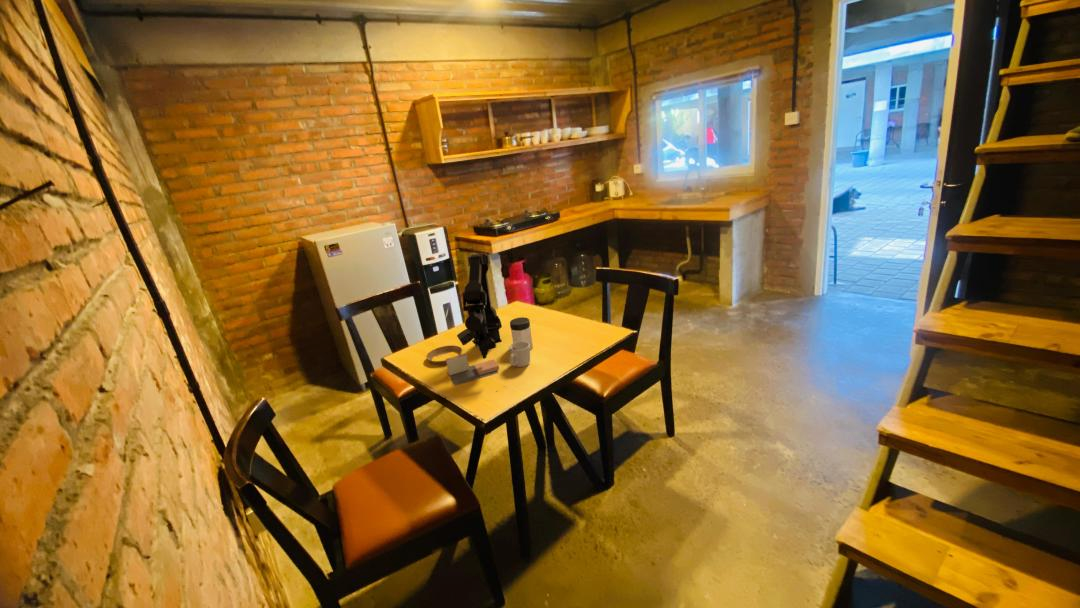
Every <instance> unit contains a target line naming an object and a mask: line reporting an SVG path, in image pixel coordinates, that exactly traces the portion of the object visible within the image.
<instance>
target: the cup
mask: <svg viewBox="0 0 1080 608" xmlns="http://www.w3.org/2000/svg"><path fill="white" fill-rule="evenodd" d="M508 349H509V353H510V355H509V363H510V364H511V366H515V367H517V368H524V367H527V366H529V364H530V363H531V349H530V344H529V343H528V342H523V341H521V342H515V343H513V342H512V343H510V345H509V346H508Z"/></svg>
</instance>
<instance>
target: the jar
mask: <svg viewBox="0 0 1080 608" xmlns="http://www.w3.org/2000/svg"><path fill="white" fill-rule="evenodd" d="M530 323H531V321H530V319H529V318H528V317H524V316H523V317H515V318H513V319H511V320H510V321H509V326H510V332H511V338H512V344H513V343H515V342H521V341H523V342H528V343H529V344H530V350H531V349H533V348H534V345H533V338H532V331H531V330H532V329H531V324H530Z"/></svg>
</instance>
